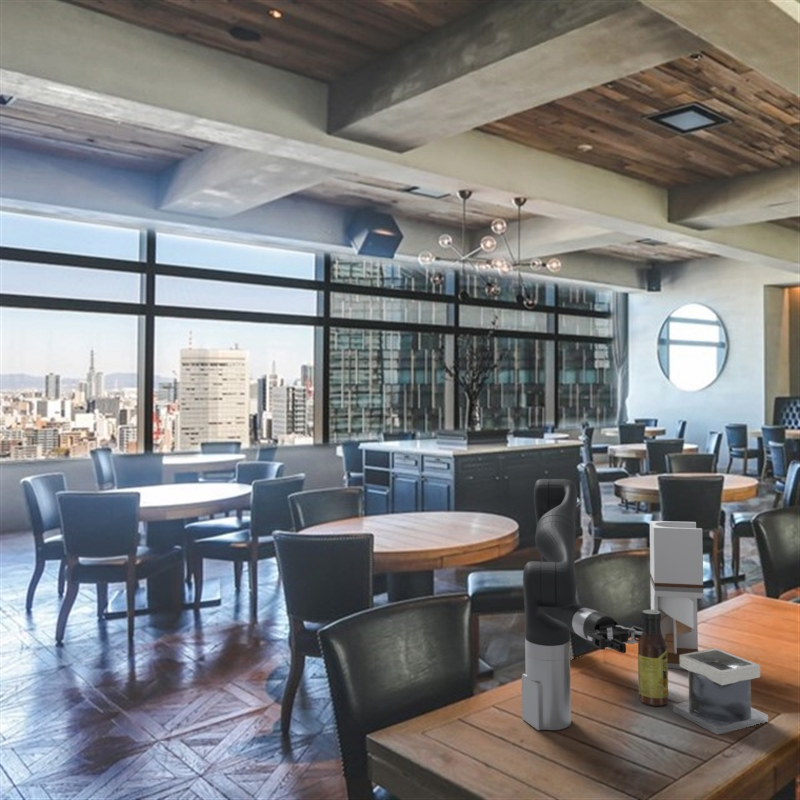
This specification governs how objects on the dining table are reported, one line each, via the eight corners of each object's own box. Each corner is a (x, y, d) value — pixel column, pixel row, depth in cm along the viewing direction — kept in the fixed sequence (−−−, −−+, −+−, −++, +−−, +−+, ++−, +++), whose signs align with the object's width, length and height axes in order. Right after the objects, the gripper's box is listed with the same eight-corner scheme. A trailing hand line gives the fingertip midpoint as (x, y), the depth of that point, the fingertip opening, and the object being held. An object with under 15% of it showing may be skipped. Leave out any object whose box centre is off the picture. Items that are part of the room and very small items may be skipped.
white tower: (655, 667, 182) (653, 527, 182) (651, 652, 192) (649, 520, 193) (704, 670, 179) (702, 529, 180) (697, 655, 190) (695, 522, 190)
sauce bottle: (670, 708, 158) (669, 616, 158) (640, 706, 159) (639, 615, 159) (665, 696, 164) (664, 608, 164) (636, 694, 165) (635, 607, 165)
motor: (717, 734, 145) (716, 674, 145) (673, 711, 156) (672, 655, 156) (768, 722, 150) (767, 664, 150) (722, 700, 161) (721, 646, 161)
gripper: (570, 615, 177) (614, 633, 162) (617, 608, 183) (664, 625, 168) (571, 645, 177) (615, 667, 162) (617, 637, 183) (664, 658, 168)
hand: (639, 646), depth 165 cm, fingers open, 8 cm apart
